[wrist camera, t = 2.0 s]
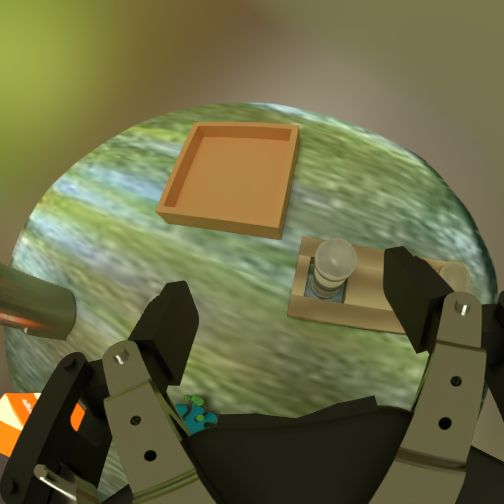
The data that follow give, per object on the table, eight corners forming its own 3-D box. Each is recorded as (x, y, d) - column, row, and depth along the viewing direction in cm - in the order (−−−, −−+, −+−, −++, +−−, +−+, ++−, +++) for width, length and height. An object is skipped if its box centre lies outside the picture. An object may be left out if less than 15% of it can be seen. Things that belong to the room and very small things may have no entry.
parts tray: (280, 239, 37) (278, 227, 33) (167, 222, 41) (155, 211, 38) (299, 141, 42) (298, 125, 39) (201, 136, 46) (194, 122, 43)
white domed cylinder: (337, 301, 33) (354, 282, 23) (308, 296, 34) (311, 275, 24) (342, 272, 34) (358, 241, 24) (313, 267, 35) (318, 234, 25)
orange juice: (94, 423, 32) (-1, 438, 13) (79, 449, 30) (-4, 467, 12) (68, 390, 34) (-23, 390, 16) (55, 419, 33) (-26, 424, 14)
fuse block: (435, 338, 29) (444, 337, 26) (287, 316, 34) (286, 314, 31) (440, 267, 32) (448, 262, 29) (302, 243, 36) (302, 236, 34)
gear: (207, 474, 26) (138, 461, 22) (190, 454, 31) (128, 438, 27) (239, 410, 30) (170, 388, 26) (217, 395, 35) (156, 373, 31)
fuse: (426, 314, 30) (469, 300, 20) (402, 311, 31) (440, 295, 21) (428, 286, 31) (469, 263, 21) (404, 282, 32) (441, 257, 22)
